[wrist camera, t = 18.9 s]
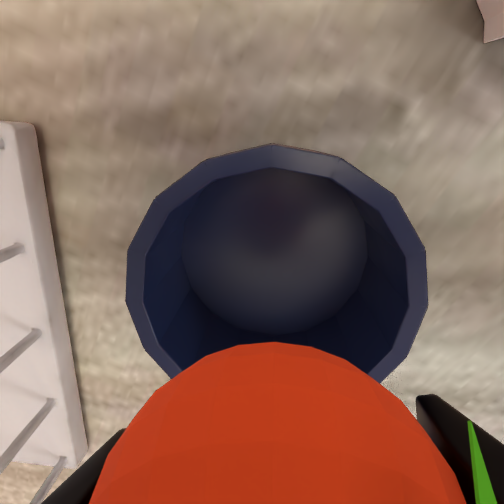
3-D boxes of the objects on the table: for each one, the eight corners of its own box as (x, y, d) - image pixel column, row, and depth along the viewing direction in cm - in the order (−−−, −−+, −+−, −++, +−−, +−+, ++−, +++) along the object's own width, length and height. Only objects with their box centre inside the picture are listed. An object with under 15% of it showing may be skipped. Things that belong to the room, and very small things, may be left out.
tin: (367, 120, 17) (419, 109, 11) (387, 325, 20) (433, 402, 14) (144, 172, 18) (80, 188, 12) (202, 352, 22) (175, 431, 16)
